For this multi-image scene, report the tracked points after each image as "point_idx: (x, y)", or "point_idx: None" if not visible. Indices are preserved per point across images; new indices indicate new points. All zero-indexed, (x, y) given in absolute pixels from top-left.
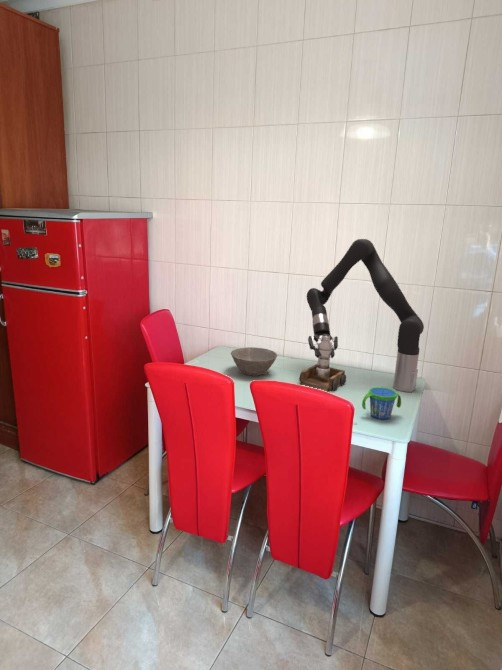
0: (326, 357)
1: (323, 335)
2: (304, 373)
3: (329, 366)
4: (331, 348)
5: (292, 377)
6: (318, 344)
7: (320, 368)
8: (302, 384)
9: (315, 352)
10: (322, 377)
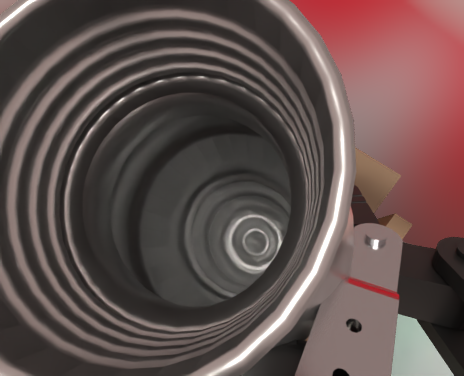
0: (233, 169)
1: (223, 343)
2: (383, 224)
3: (208, 219)
4: (144, 159)
5: (422, 352)
6: (350, 266)
7: (279, 204)
8: (372, 200)
9: (365, 205)
10: (263, 205)
